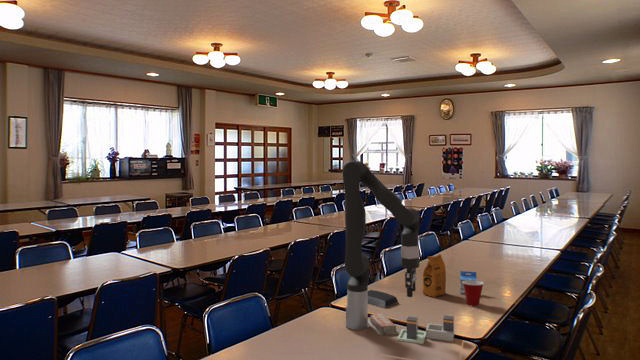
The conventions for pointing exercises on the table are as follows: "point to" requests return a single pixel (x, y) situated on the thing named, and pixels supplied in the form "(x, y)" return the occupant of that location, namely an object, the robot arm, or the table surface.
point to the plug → (412, 328)
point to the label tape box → (465, 277)
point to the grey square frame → (441, 329)
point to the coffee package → (434, 277)
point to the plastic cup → (473, 291)
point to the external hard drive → (381, 299)
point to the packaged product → (382, 324)
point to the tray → (419, 339)
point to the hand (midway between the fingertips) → (411, 293)
